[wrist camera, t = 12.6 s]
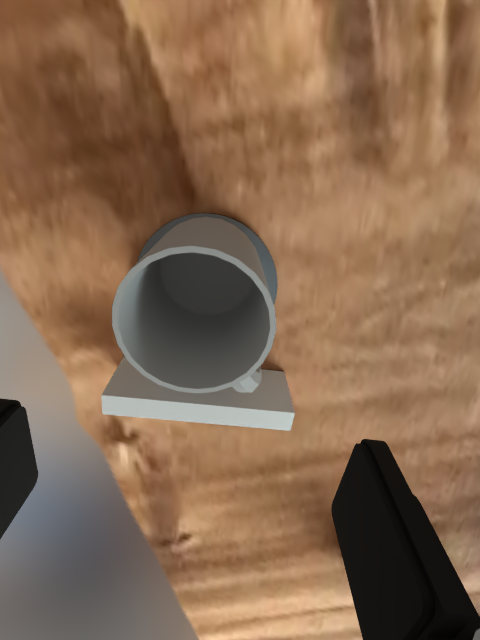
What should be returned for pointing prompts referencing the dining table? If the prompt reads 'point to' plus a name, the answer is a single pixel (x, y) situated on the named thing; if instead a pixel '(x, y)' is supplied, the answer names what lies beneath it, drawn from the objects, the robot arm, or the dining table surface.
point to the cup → (197, 310)
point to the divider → (200, 401)
